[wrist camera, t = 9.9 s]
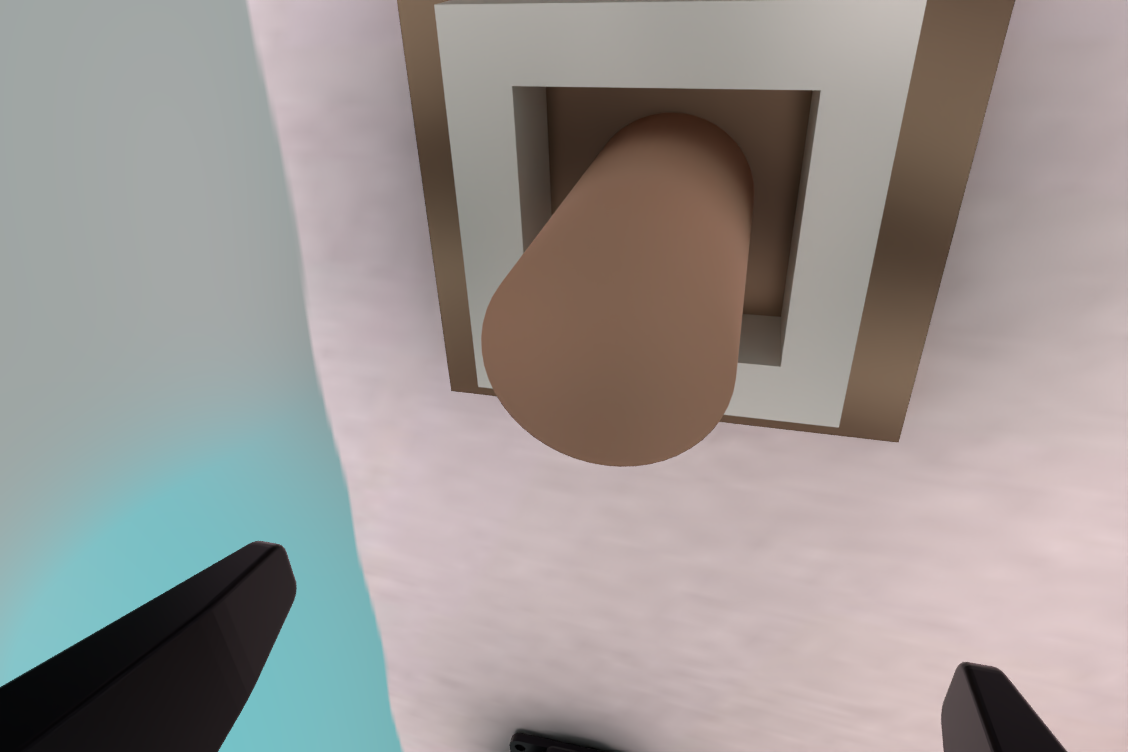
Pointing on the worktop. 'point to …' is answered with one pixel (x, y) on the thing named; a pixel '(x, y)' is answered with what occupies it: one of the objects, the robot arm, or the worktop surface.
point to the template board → (768, 141)
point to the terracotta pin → (630, 299)
